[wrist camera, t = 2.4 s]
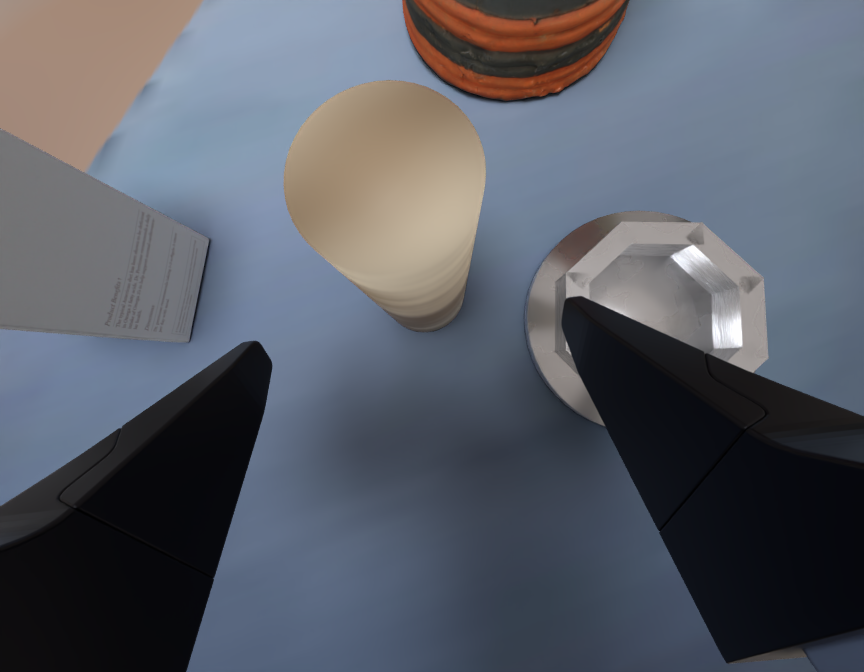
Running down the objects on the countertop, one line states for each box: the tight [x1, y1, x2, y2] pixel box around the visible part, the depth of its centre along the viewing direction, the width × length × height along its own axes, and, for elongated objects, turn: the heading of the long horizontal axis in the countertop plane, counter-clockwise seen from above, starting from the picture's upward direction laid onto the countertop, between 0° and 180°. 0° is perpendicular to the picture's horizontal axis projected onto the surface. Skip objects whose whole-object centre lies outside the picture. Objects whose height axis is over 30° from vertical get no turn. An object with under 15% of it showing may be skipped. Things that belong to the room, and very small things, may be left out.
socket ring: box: [524, 211, 769, 426], centre depth 18 cm, size 13×13×3 cm
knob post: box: [284, 80, 486, 332], centre depth 14 cm, size 5×5×12 cm
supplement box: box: [0, 128, 209, 342], centre depth 15 cm, size 7×7×13 cm
